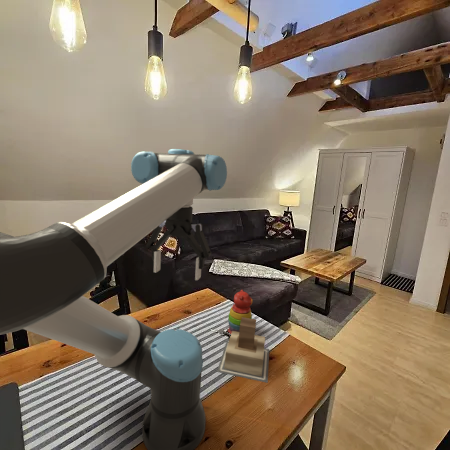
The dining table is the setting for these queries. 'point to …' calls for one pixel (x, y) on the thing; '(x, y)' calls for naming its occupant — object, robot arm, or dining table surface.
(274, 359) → the dining table surface
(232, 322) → the stacking bear
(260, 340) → the plinth block
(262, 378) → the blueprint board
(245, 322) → the walnut block
